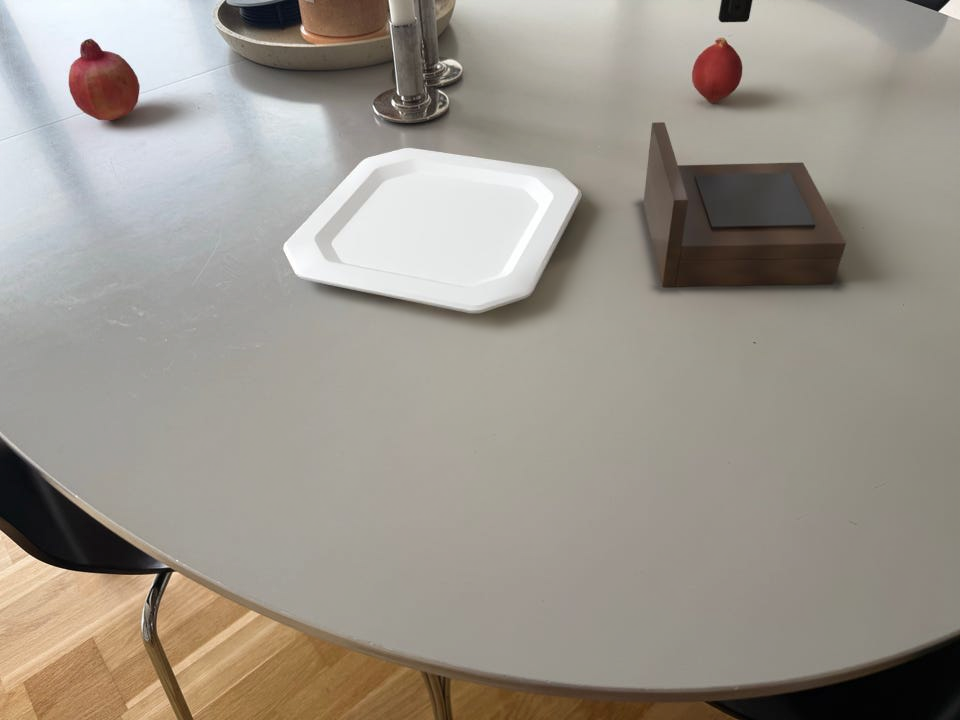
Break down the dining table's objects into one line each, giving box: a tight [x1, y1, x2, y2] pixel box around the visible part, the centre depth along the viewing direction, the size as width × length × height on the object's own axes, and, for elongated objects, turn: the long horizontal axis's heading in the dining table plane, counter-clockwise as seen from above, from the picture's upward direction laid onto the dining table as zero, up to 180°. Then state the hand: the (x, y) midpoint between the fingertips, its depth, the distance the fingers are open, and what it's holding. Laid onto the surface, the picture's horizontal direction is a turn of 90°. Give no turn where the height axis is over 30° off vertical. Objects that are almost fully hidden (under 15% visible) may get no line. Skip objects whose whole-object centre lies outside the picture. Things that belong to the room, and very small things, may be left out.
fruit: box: [68, 38, 141, 121], centre depth 100 cm, size 8×8×10 cm
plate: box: [283, 147, 583, 314], centre depth 80 cm, size 25×25×2 cm
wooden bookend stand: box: [642, 121, 847, 288], centre depth 75 cm, size 15×14×9 cm
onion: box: [691, 36, 743, 104], centre depth 98 cm, size 6×6×8 cm
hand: (724, 4), depth 93 cm, fingers open, 9 cm apart
